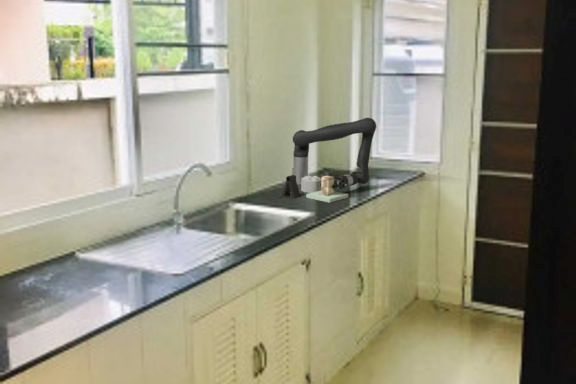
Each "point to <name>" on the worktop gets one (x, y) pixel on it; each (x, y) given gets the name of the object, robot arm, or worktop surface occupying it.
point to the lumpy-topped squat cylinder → (310, 184)
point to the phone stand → (291, 187)
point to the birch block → (327, 185)
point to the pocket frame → (325, 198)
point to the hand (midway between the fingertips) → (326, 185)
